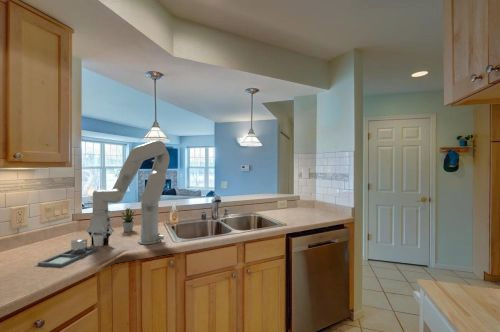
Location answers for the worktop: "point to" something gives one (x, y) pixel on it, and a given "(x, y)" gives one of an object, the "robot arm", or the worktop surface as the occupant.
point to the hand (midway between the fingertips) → (100, 244)
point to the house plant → (127, 220)
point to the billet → (79, 246)
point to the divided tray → (65, 259)
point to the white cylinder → (98, 239)
